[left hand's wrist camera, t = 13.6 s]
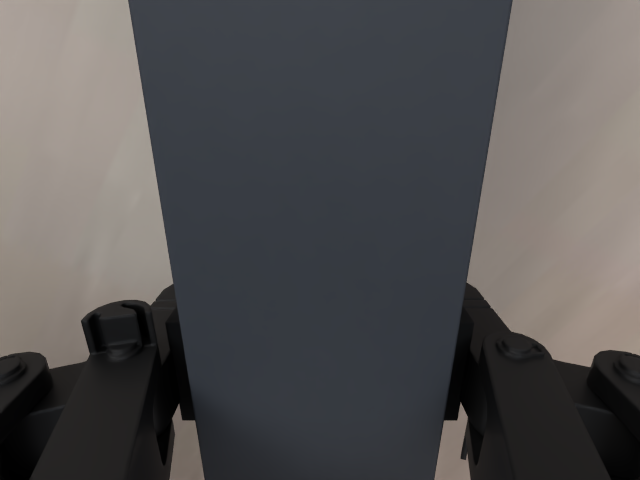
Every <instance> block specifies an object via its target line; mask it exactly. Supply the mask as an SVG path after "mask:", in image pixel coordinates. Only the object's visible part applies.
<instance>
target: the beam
mask: <svg viewBox="0 0 640 480" xmlns="http://www.w3.org/2000/svg"><path fill="white" fill-rule="evenodd" d="M128 1H129V8H130V14H131V20H132V27H133V33H134V39H135V45H136V52H137V58H138V64H139V70H140V77H141V83H142V89H143V95H144V102H145V108H146V114H147V120H148V127H149V133H150V139H151V146H152V152H153V158H154V164H155V171H156V177H157V183H158V189H159V196H160V202H161V208H162V214H163V221H164V227H165V233H166V240H167V246H168V252H169V258H170V265H171V271H172V277H173V283H174V290H175V296H176V302H177V308H178V315H179V321H180V327H181V334H182V340H183V346H184V352H185V359H186V365H187V371H188V377H189V384H190V390H191V396H192V402H193V409H194V415H195V421H196V428H197V434H198V440H199V446H200V453H201V459H202V465H203V471H204V478H205V480H434V477H435V471H436V465H437V459H438V453H439V446H440V440H441V434H442V428H443V422H444V416H445V410H446V404H447V398H448V391H449V385H450V379H451V373H452V367H453V361H454V355H455V349H456V343H457V336H458V330H459V324H460V318H461V312H462V306H463V300H464V294H465V288H466V281H467V275H468V269H469V263H470V257H471V251H472V245H473V239H474V233H475V226H476V220H477V214H478V208H479V202H480V196H481V190H482V184H483V178H484V171H485V165H486V159H487V153H488V147H489V141H490V135H491V129H492V123H493V116H494V110H495V104H496V98H497V92H498V86H499V80H500V74H501V68H502V61H503V55H504V49H505V43H506V37H507V31H508V25H509V19H510V13H511V6H512V0H128Z"/></svg>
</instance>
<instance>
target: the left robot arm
mask: <svg viewBox="0 0 640 480" xmlns="http://www.w3.org/2000/svg"><path fill="white" fill-rule="evenodd" d="M81 323H82V327H83V331H84V334H85V338H86V342H87V345H88V349H89V353H90V356H89V358H88V360H87V361H86V362H82V363H77V364H73V365H68V366H63V367H58V368H53V369H49V367H48V364H47V360H46V358H45V357H44V356H43V355H41V354H40V353H34V352H24V353H15V354H11V355H8V356H4V357H1V358H0V480H169V479H170V470H171V462H172V454H173V446H174V437H175V432H174V426H173V420H172V417H173V415H174V413H175V411H176V408H177V406H178V404H180V410H181V415H182V420H195V415H194V409H193V402H192V396H191V390H190V384H189V377H188V371H187V365H186V359H185V352H184V346H183V340H182V334H181V327H180V321H179V315H178V308H177V302H176V296H175V290H174V284H172V285H171V286H169V287H167V288H166V289H164V290H163V291H162V292H161V294H160V295H159V296H158V297H157V299H156V301H154V302H153V304H152V305H151V306H150V305H149V304H147V303H146V302H143V301H139V300H123V301H118V302H113V303H109V304H107V305H104V306H101V307H98V308H97V309H95V310H93V311H92V312H90V313H88V314H87V315H86V316H85V317H84V318H83V319H82V320H81ZM460 402H461V403H462V405H463V407H464V410H465V412H466V414H467V416H468V420H467V426H466V431H465V436H464V441H463V447H462V452H461V459H464V460H466V456H467V453H468V461H469V469H470V478H471V480H640V356H639V355H636V354H632V353H629V352H622V351H614V350H608V351H600V352H599V353H598V354H596V355H595V356H594V359H593V362H592V365H591V367H586V366H581V365H576V364H571V363H566V362H561V361H557V360H553V359H552V357H551V355H550V353H549V352H548V351H547V350H546V348H545V347H544V346H543V345H541V344H540V343H538V342H537V341H535V340H534V339H532V338H529V337H527V336H525V335H522V334H519V333H514V332H511V331H510V330H509V329H508V327H507V326H506V325H505V324H504V322H503V321H502V320H501V319H500V317H499V316H498V315H497V314H496V313H495V311H494V310H493V309H492V308H490V305H489V304H488V303H487V301H486V300H484V298H483V296H482V295H481V294H480V293H479V291H478V290H477V289H476V288H474V287H473V286H471V285H470V284H468V283H466V288H465V294H464V300H463V306H462V312H461V318H460V324H459V330H458V336H457V343H456V349H455V355H454V361H453V367H452V373H451V379H450V385H449V391H448V398H447V404H446V410H445V416H444V420H457V419H458V413H459V408H460Z"/></svg>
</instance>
